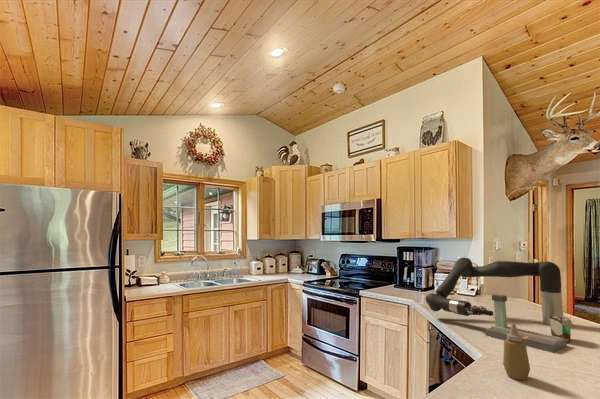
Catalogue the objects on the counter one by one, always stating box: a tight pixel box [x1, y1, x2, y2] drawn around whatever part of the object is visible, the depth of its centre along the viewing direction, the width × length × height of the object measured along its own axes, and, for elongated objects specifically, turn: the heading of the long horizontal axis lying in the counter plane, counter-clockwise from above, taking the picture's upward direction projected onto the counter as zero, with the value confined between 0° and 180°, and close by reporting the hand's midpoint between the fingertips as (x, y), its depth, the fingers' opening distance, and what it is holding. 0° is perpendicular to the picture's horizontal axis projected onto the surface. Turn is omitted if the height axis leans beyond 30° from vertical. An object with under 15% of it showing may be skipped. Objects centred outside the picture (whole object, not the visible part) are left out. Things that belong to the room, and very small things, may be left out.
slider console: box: [485, 324, 568, 354], centre depth 156 cm, size 14×28×4 cm, turn 33°
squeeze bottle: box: [502, 323, 531, 381], centre depth 119 cm, size 8×8×18 cm
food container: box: [549, 315, 573, 344], centre depth 156 cm, size 12×6×10 cm, turn 168°
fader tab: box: [491, 293, 508, 329], centre depth 165 cm, size 4×5×16 cm
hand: (492, 313), depth 168 cm, fingers closed
